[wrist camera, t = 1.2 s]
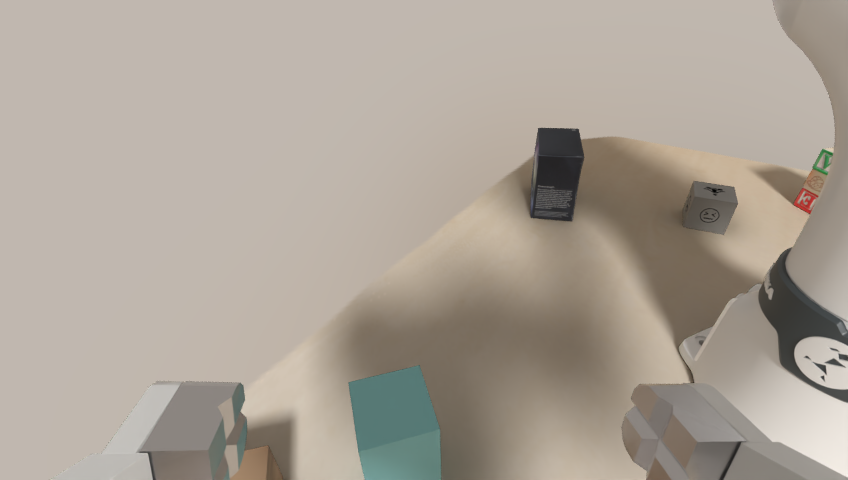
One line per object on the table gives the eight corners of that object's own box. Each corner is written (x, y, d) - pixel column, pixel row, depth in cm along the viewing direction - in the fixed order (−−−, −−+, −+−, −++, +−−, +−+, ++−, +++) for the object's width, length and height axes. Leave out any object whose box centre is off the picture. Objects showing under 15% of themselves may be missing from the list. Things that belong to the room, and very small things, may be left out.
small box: (529, 185, 72) (536, 125, 66) (569, 188, 71) (580, 127, 65) (528, 218, 64) (536, 153, 58) (573, 222, 62) (586, 155, 56)
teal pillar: (424, 442, 35) (419, 365, 30) (441, 504, 32) (440, 429, 26) (365, 458, 35) (348, 382, 29) (375, 525, 31) (358, 451, 25)
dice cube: (720, 217, 62) (734, 187, 59) (723, 235, 58) (737, 203, 56) (682, 210, 64) (693, 180, 61) (682, 227, 60) (694, 196, 57)
